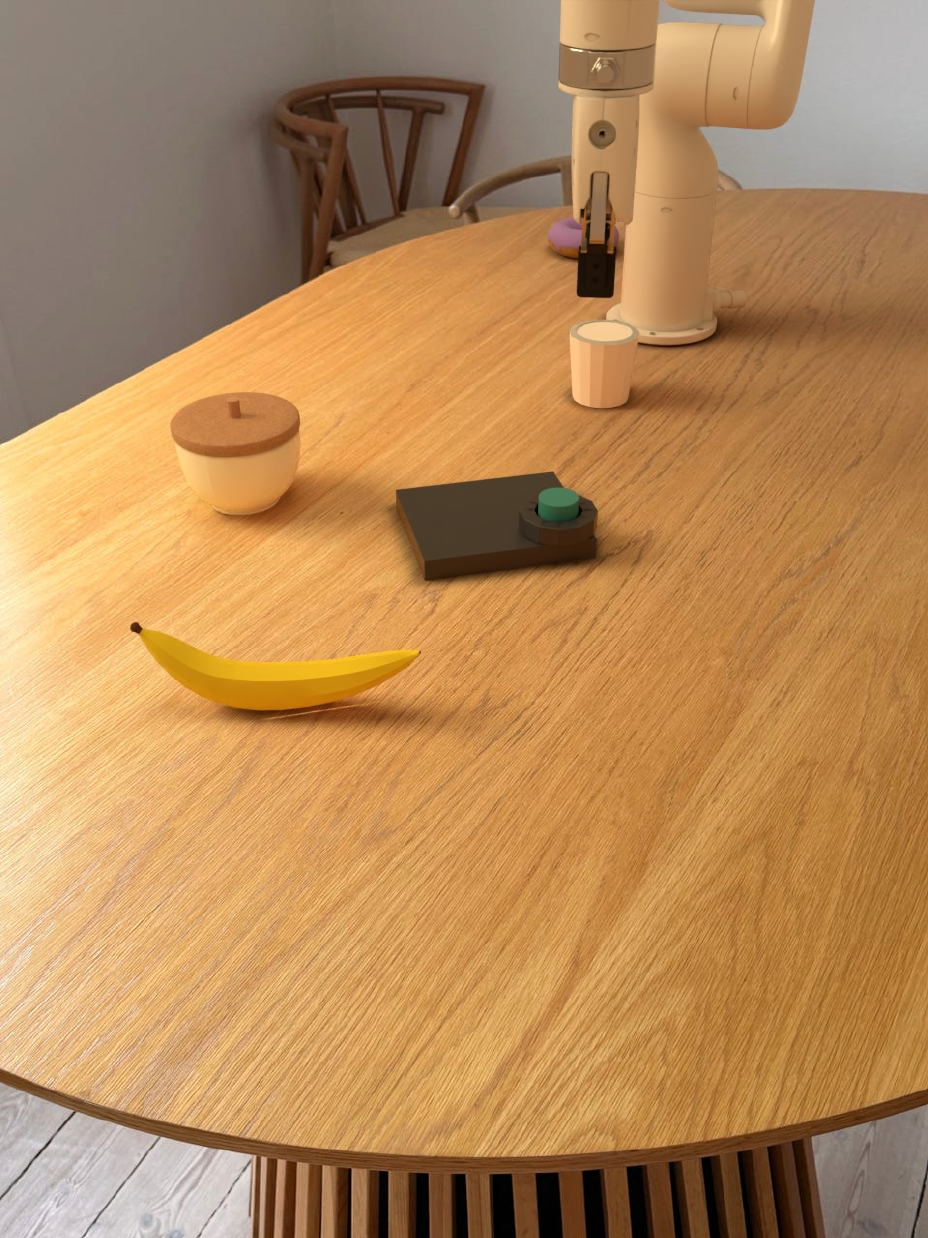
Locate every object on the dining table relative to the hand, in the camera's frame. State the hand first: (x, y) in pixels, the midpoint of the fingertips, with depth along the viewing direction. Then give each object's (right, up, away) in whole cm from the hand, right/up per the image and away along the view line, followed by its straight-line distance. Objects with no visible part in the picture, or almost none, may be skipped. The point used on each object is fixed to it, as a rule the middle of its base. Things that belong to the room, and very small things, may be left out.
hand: (595, 293), depth 106 cm
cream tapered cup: (+2, -6, +18) cm, 19 cm away
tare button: (-4, -20, -9) cm, 22 cm away
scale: (-9, -21, -5) cm, 24 cm away
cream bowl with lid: (-31, -18, 0) cm, 36 cm away
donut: (+4, +21, +57) cm, 61 cm away
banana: (-24, -34, -24) cm, 48 cm away
